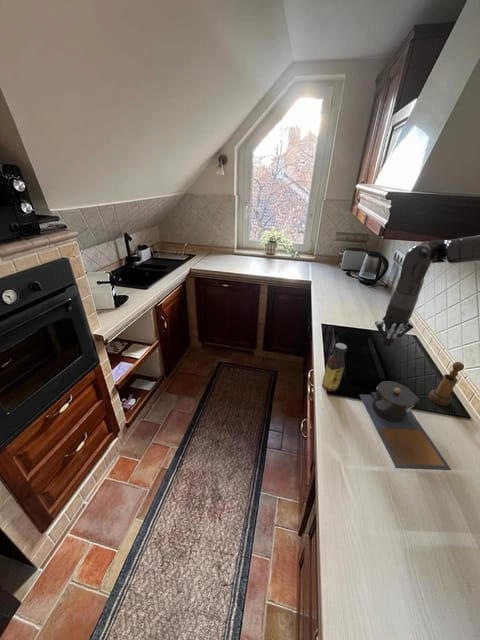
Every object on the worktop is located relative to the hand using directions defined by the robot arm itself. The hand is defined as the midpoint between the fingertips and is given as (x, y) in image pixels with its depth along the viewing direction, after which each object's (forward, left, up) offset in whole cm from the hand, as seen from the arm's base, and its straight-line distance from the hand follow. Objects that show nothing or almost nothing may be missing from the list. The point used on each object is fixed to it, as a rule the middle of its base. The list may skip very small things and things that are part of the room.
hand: (386, 345), depth 94 cm
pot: (0, +14, -19) cm, 23 cm away
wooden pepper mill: (-22, +8, -19) cm, 30 cm away
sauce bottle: (+18, +3, -19) cm, 26 cm away
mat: (0, +21, -19) cm, 28 cm away
